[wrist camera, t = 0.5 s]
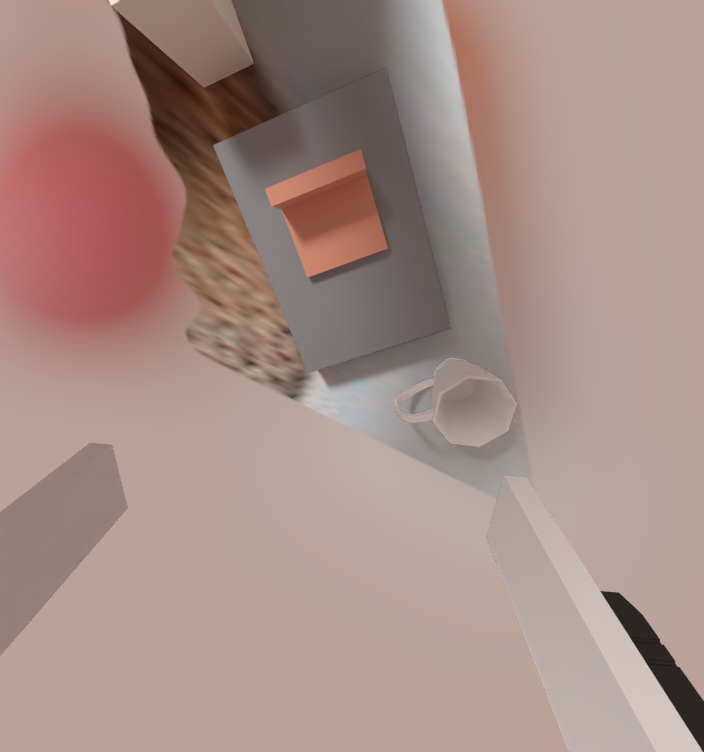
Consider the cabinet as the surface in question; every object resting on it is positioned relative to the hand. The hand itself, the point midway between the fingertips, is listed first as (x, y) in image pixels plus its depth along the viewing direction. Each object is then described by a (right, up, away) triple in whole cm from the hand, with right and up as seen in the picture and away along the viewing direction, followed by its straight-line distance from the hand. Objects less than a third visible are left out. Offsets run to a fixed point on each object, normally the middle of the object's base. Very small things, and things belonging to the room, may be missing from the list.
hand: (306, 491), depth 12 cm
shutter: (0, +17, +17) cm, 24 cm away
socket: (+1, +16, +20) cm, 26 cm away
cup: (+11, +4, +25) cm, 27 cm away
